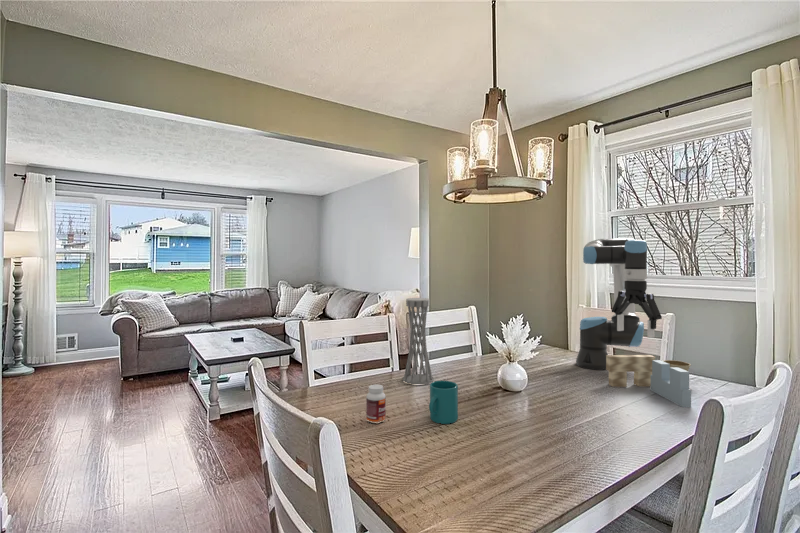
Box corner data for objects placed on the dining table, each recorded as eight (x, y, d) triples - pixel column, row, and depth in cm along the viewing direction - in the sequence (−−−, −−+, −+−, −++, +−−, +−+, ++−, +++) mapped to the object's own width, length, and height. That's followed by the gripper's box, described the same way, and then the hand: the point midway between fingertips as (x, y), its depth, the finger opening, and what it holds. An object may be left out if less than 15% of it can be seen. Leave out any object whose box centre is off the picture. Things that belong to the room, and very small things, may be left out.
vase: (439, 379, 173) (439, 298, 172) (424, 387, 162) (424, 301, 161) (412, 374, 180) (411, 296, 180) (396, 382, 169) (395, 299, 168)
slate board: (650, 390, 157) (650, 359, 157) (658, 390, 157) (658, 359, 157) (682, 407, 139) (682, 372, 139) (691, 407, 139) (691, 372, 139)
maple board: (609, 386, 162) (610, 356, 161) (606, 384, 165) (606, 355, 164) (654, 386, 161) (655, 356, 161) (650, 384, 164) (650, 355, 164)
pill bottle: (381, 425, 125) (381, 390, 125) (363, 423, 127) (363, 388, 127) (388, 418, 131) (388, 384, 131) (370, 415, 133) (370, 382, 133)
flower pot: (681, 380, 169) (681, 360, 169) (696, 387, 160) (696, 366, 159) (658, 380, 170) (658, 359, 170) (670, 387, 161) (671, 365, 160)
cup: (418, 422, 127) (418, 387, 127) (440, 411, 136) (440, 378, 136) (442, 430, 121) (442, 393, 121) (463, 418, 131) (463, 384, 130)
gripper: (602, 278, 167) (602, 328, 168) (658, 282, 144) (657, 341, 145) (616, 277, 170) (615, 327, 171) (673, 281, 146) (672, 339, 147)
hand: (635, 333), depth 158 cm, fingers open, 13 cm apart
